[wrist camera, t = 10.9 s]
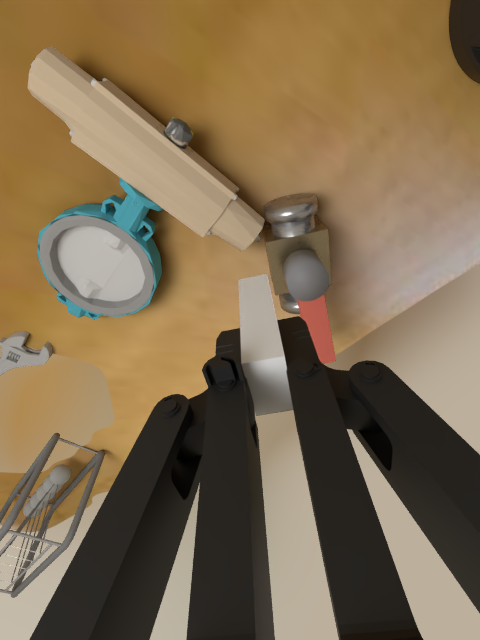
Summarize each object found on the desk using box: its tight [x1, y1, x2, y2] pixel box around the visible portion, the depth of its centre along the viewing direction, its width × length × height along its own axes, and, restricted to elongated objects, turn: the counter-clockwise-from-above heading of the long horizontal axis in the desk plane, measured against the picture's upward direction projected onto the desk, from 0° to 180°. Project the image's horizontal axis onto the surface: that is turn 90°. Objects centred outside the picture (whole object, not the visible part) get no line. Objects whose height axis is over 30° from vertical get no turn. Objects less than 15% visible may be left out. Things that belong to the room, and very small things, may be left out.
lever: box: [283, 249, 336, 364], centre depth 38 cm, size 14×4×4 cm, turn 17°
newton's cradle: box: [0, 433, 105, 598], centre depth 63 cm, size 30×10×18 cm, turn 142°
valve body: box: [263, 194, 332, 314], centre depth 40 cm, size 13×7×7 cm, turn 12°
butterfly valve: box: [28, 47, 265, 319], centre depth 39 cm, size 27×7×30 cm
